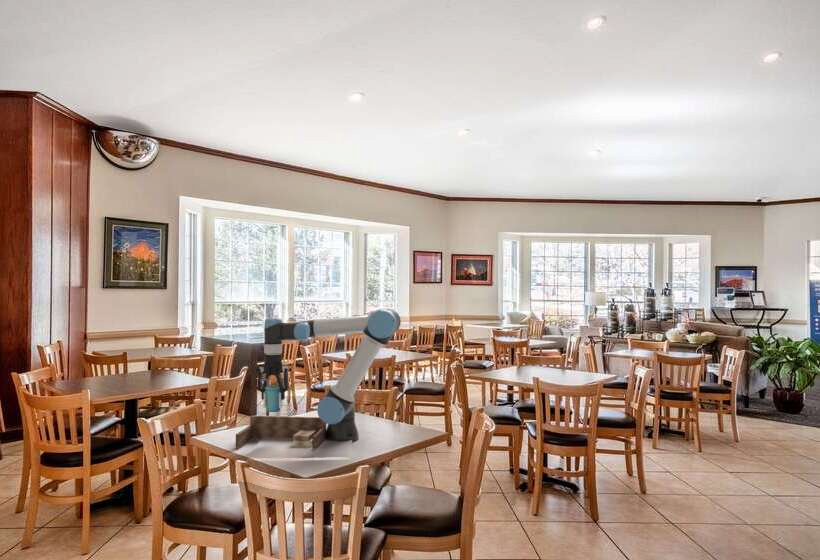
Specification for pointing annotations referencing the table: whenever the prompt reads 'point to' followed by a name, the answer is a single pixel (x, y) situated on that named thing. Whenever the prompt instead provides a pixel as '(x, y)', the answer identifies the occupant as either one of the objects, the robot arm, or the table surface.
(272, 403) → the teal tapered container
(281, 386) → the robot arm
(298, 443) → the offcut middle
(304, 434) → the offcut top
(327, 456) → the table surface
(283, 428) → the tray
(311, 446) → the offcut bottom
